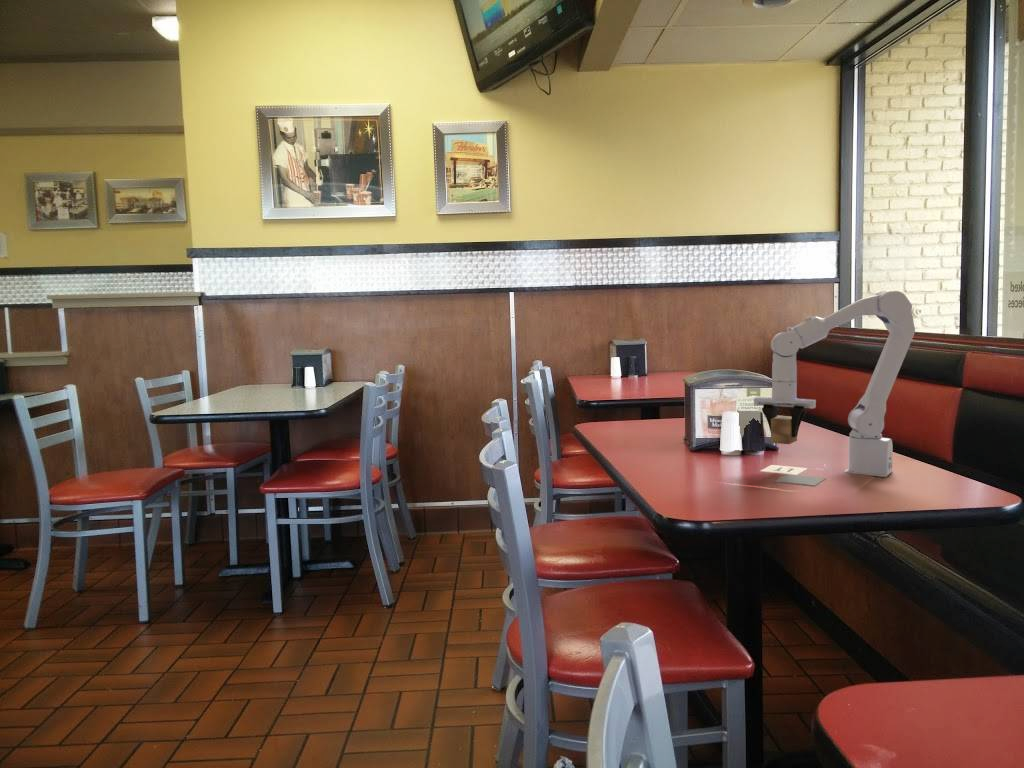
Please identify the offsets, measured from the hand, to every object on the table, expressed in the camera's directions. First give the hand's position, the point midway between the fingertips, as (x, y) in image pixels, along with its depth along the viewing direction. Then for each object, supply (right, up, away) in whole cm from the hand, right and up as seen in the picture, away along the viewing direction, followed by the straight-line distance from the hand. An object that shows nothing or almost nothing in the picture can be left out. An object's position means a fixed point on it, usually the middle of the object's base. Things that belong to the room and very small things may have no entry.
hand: (784, 435), depth 190 cm
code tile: (0, -9, +1) cm, 9 cm away
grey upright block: (0, -7, +29) cm, 29 cm away
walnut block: (0, -1, 0) cm, 2 cm away
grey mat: (0, -10, -11) cm, 15 cm away
